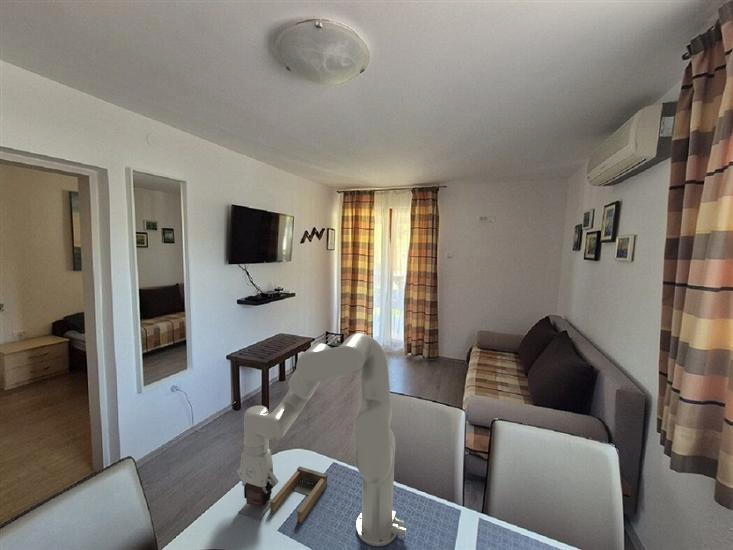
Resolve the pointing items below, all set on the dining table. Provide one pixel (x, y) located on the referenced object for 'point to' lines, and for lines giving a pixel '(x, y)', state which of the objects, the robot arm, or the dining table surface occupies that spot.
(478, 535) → the dining table surface
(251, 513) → the pad
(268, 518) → the dining table surface
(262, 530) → the dining table surface
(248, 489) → the box
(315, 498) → the channel
